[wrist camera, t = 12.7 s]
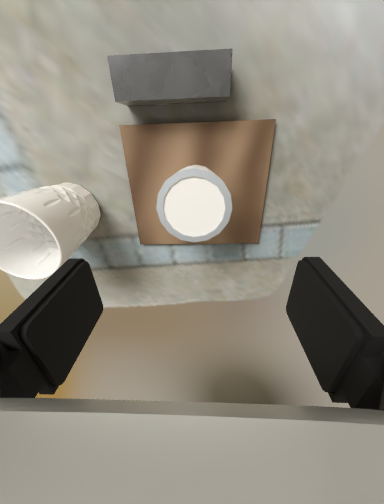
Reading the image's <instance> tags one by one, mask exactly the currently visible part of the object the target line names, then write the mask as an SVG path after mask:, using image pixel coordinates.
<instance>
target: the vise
mask: <svg viewBox="0 0 384 504" xmlns="http://www.w3.org/2000/svg"><path fill="white" fill-rule="evenodd" d="M107 57H108V62H109V68H110V74H111V79H112V85H113V91H114V96H115V102H118V103H121V104H124V105H127V106H135V105H157V104H180V103H202V102H225V101H227V100H228V98H229V97H230V88H231V67H232V49H219V50H202V51H184V52H167V53H149V54H132V55H114V56H107Z"/></svg>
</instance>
